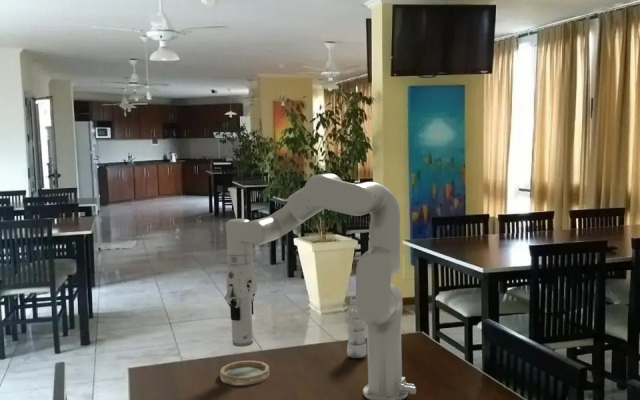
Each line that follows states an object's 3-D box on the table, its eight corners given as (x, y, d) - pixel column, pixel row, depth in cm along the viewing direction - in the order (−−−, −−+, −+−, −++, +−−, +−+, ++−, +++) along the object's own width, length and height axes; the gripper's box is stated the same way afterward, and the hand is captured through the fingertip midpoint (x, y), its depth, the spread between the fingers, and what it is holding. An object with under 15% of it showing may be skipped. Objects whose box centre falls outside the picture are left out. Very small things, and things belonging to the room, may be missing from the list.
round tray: (278, 371, 195) (278, 364, 195) (251, 388, 182) (251, 380, 181) (239, 365, 202) (238, 358, 202) (210, 380, 188) (210, 373, 188)
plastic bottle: (343, 356, 207) (341, 297, 205) (361, 352, 210) (359, 294, 208) (352, 361, 201) (350, 301, 200) (370, 358, 204) (369, 298, 202)
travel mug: (250, 347, 187) (247, 282, 185) (229, 346, 188) (227, 282, 187) (256, 341, 193) (254, 278, 192) (236, 340, 195) (233, 277, 193)
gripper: (233, 265, 179) (235, 326, 181) (265, 255, 194) (267, 311, 196) (212, 263, 183) (215, 323, 184) (245, 254, 198) (248, 309, 199)
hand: (242, 316), depth 190 cm, fingers closed on travel mug, 6 cm apart
